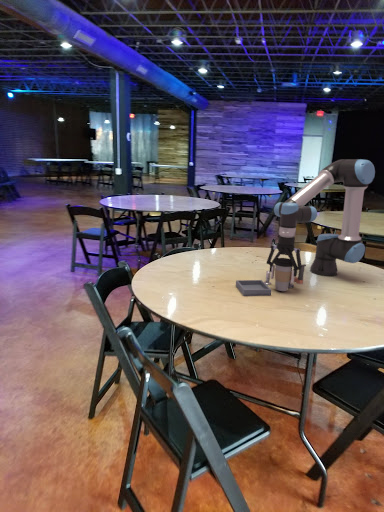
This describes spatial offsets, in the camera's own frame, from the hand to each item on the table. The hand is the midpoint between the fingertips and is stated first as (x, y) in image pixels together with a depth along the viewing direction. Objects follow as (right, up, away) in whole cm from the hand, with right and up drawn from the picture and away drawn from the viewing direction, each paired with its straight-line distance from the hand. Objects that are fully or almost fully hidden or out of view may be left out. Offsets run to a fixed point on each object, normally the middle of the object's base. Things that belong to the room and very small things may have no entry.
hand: (282, 280), depth 168 cm
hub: (+4, -3, +9) cm, 11 cm away
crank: (+6, 0, +5) cm, 8 cm away
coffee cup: (0, -5, +1) cm, 5 cm away
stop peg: (-5, -3, +11) cm, 13 cm away
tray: (-14, -5, 0) cm, 15 cm away
